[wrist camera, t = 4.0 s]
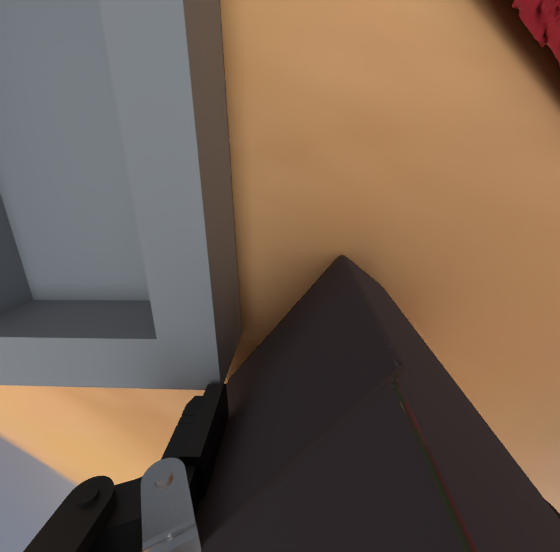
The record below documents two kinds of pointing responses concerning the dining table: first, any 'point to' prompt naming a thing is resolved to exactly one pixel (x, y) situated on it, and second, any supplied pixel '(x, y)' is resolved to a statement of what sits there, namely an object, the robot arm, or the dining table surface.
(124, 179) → the tray
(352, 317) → the dark bevelled slab
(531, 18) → the plate with food
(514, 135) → the dining table surface
